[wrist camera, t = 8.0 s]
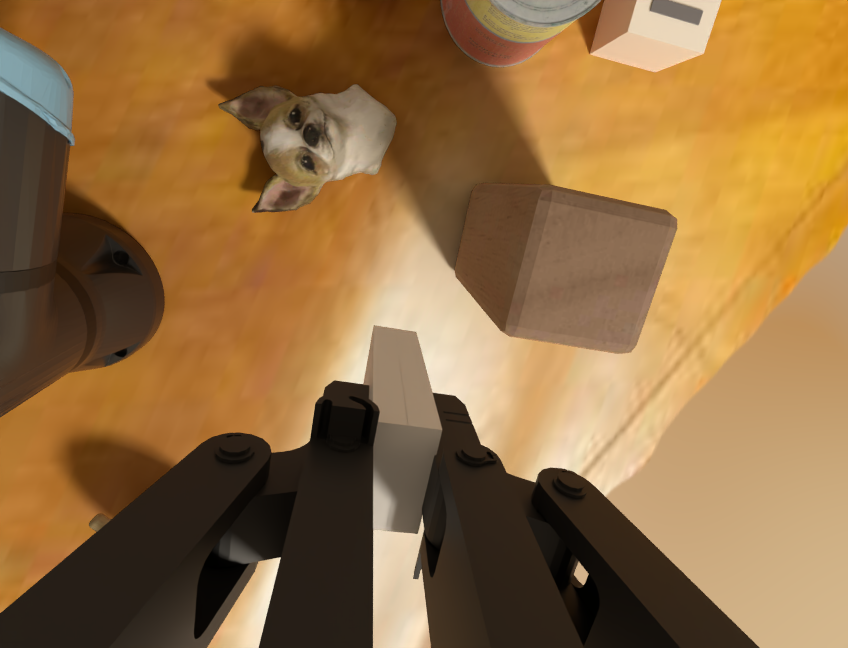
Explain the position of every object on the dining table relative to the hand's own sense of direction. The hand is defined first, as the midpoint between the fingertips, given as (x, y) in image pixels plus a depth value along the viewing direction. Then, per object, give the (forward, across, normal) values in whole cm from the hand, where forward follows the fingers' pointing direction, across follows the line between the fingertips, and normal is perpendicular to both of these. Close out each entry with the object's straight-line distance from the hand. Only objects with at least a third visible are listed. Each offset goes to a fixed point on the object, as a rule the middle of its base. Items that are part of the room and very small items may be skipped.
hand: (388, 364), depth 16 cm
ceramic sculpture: (+33, -7, +8) cm, 35 cm away
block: (+33, +13, +3) cm, 35 cm away
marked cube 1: (+33, +20, +25) cm, 46 cm away
